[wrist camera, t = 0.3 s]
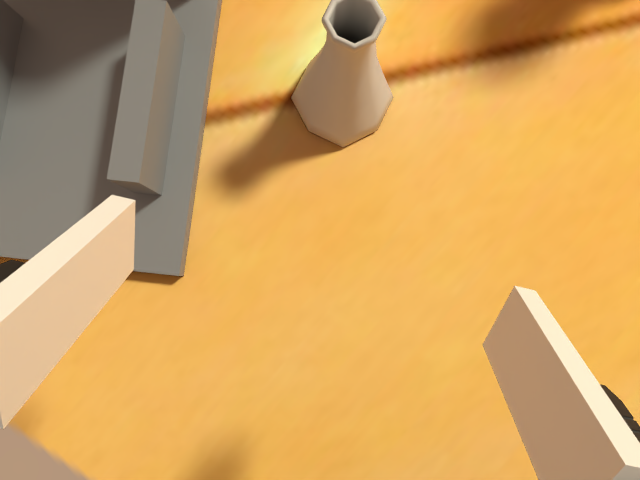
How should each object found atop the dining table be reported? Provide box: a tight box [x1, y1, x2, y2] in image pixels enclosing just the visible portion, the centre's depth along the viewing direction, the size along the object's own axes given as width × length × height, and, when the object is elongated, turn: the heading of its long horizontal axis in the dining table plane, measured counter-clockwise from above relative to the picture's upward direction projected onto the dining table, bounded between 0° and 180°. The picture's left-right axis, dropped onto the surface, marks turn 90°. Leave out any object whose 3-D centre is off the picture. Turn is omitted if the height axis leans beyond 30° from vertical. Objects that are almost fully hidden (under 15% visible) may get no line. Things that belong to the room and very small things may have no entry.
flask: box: [291, 0, 393, 147], centre depth 27 cm, size 7×7×10 cm
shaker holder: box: [0, 0, 222, 276], centre depth 24 cm, size 23×18×15 cm
